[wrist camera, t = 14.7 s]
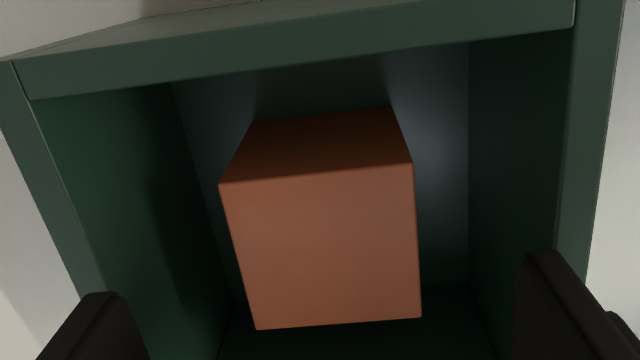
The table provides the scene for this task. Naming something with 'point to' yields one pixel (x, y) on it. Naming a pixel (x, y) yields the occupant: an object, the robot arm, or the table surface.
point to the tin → (310, 99)
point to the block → (325, 219)
